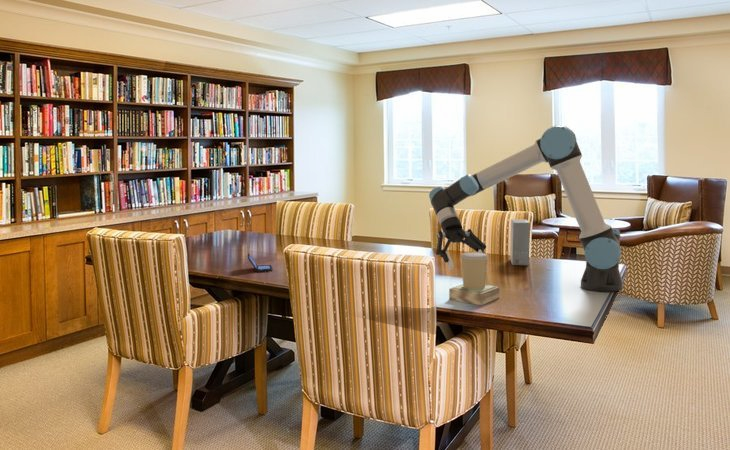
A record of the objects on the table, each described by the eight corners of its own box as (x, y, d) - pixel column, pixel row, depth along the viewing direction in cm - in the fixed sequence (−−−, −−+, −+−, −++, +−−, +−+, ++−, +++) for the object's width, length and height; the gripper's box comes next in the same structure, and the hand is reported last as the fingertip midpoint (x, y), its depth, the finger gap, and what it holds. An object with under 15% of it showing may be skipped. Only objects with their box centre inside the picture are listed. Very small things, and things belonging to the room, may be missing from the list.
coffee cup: (491, 285, 216) (491, 253, 214) (481, 291, 208) (481, 257, 206) (467, 283, 221) (467, 251, 219) (456, 288, 213) (457, 255, 211)
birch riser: (499, 297, 215) (499, 286, 215) (481, 305, 206) (481, 293, 205) (468, 292, 224) (468, 281, 223) (449, 299, 214) (449, 287, 214)
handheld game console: (272, 272, 269) (271, 256, 268) (248, 273, 267) (247, 257, 266) (271, 267, 281) (271, 251, 280) (248, 268, 279) (247, 252, 278)
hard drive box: (529, 265, 272) (530, 222, 270) (512, 265, 274) (512, 222, 271) (526, 259, 287) (526, 218, 285) (509, 259, 289) (510, 218, 286)
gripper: (474, 226, 236) (494, 270, 224) (417, 229, 227) (434, 275, 215) (481, 214, 230) (502, 258, 218) (423, 217, 222) (441, 264, 210)
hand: (468, 267), depth 217 cm, fingers open, 13 cm apart
